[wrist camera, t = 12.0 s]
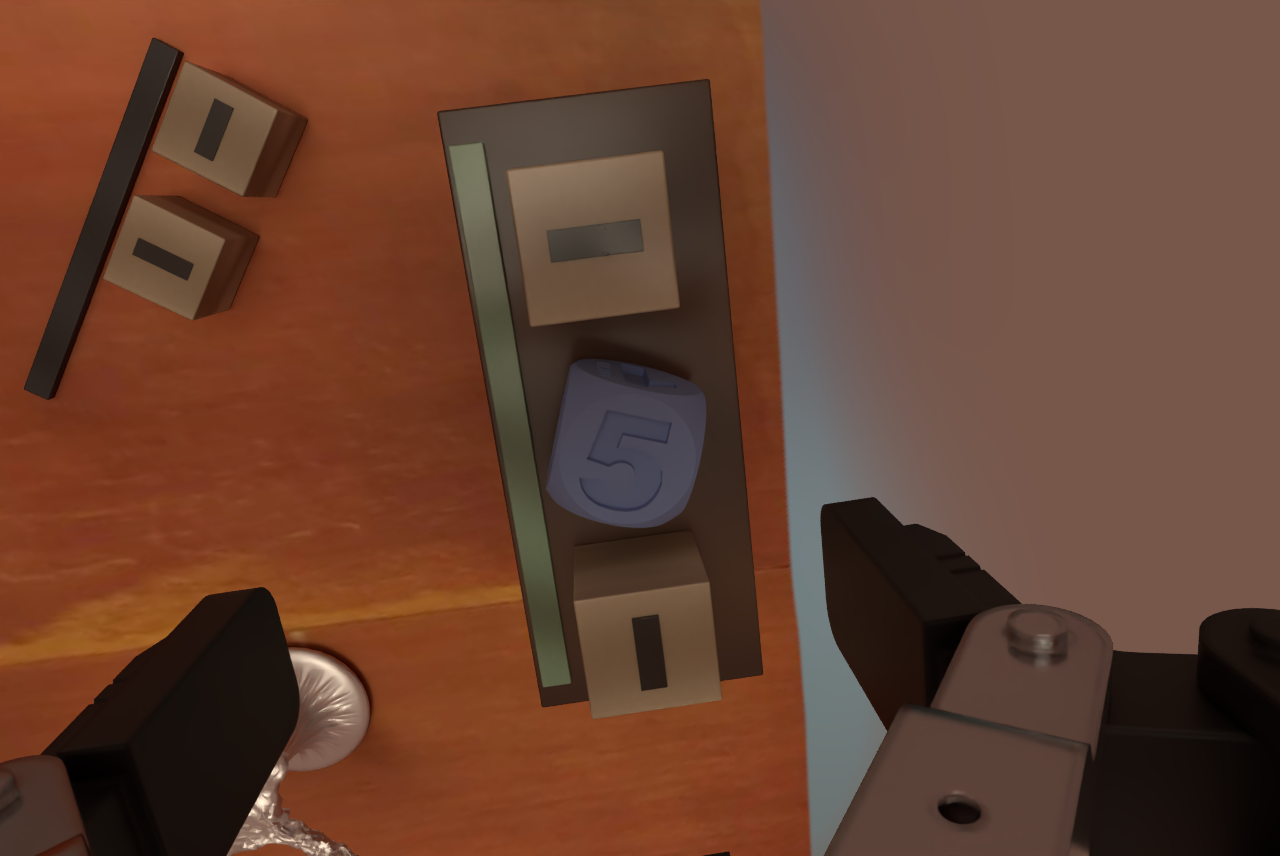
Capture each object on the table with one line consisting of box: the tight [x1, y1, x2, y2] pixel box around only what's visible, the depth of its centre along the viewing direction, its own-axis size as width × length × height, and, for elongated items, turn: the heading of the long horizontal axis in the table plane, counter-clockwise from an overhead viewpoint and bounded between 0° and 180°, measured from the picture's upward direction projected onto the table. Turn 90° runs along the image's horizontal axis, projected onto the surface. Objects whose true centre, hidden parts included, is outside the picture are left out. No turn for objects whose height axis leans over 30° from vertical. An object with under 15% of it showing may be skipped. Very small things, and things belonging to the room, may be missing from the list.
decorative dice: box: [546, 359, 706, 528], centre depth 25 cm, size 4×4×4 cm
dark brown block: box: [437, 79, 763, 719], centre depth 32 cm, size 20×8×20 cm, turn 7°
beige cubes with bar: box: [24, 38, 307, 400], centre depth 37 cm, size 18×7×4 cm, turn 152°
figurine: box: [227, 647, 370, 856], centre depth 42 cm, size 8×12×10 cm, turn 56°
